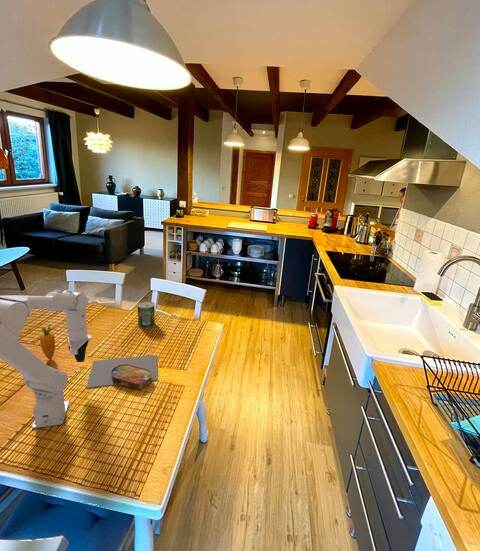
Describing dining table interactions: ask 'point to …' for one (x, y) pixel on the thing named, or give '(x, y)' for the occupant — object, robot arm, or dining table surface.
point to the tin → (131, 376)
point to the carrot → (47, 342)
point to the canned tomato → (146, 314)
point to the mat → (103, 368)
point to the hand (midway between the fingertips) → (80, 360)
